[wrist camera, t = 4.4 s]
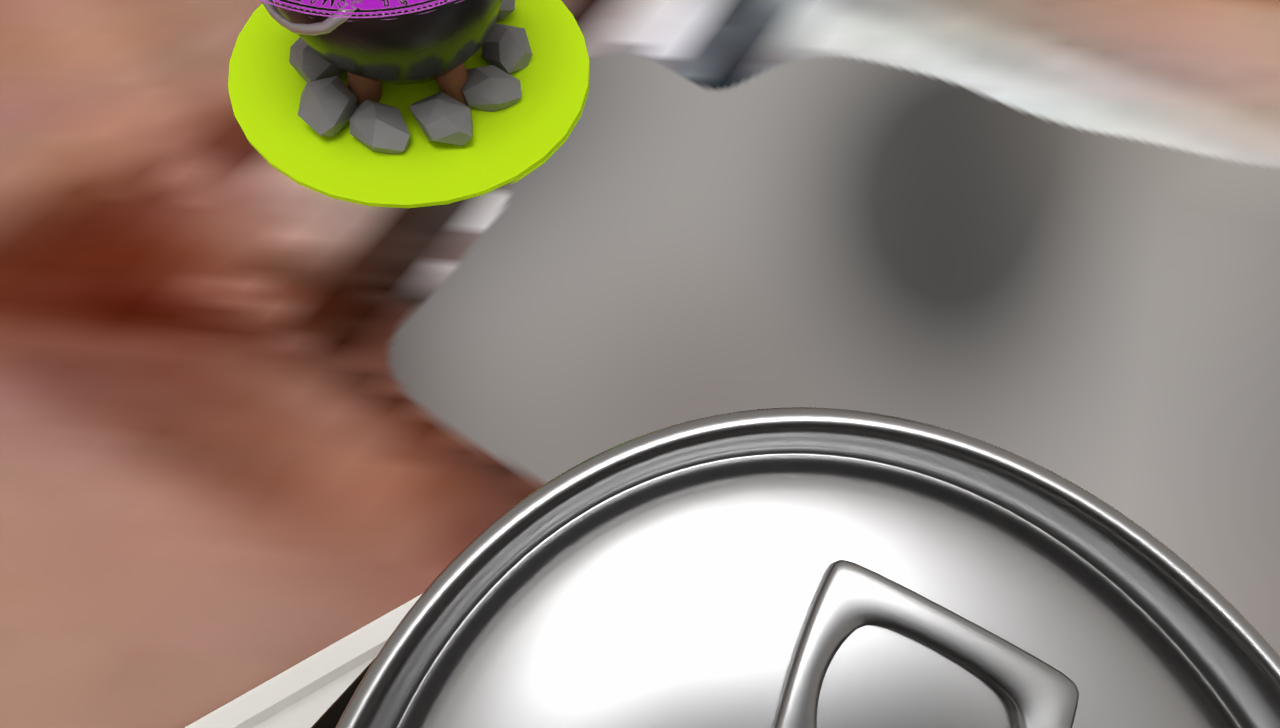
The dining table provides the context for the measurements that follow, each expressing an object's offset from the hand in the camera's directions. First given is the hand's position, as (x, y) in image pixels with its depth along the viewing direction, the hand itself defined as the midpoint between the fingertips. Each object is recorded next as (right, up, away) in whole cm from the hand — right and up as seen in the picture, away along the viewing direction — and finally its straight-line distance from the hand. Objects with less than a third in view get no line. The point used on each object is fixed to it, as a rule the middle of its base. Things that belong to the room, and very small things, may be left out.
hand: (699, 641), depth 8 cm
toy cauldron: (-10, +16, +21) cm, 28 cm away
